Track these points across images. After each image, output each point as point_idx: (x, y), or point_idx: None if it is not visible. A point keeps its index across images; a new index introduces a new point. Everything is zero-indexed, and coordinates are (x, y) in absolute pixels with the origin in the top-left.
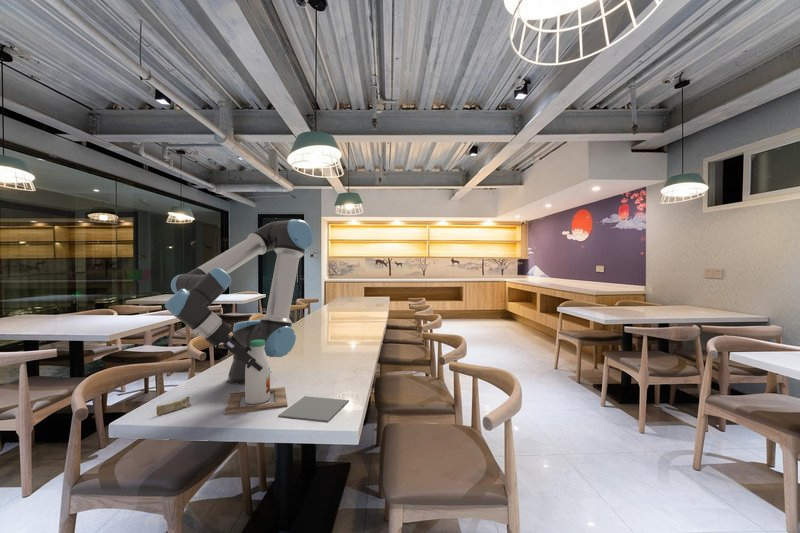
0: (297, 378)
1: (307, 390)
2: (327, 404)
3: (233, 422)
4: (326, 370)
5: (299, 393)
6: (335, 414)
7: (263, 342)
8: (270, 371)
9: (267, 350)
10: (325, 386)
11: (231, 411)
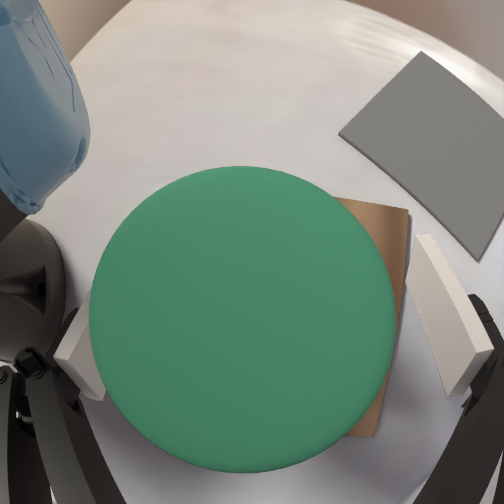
0: (106, 128)
1: (262, 111)
2: (440, 102)
3: (449, 402)
4: (100, 50)
5: (281, 141)
6: (498, 116)
7: (347, 212)
8: (433, 241)
9: (43, 192)
10: (252, 58)
11: (372, 416)
